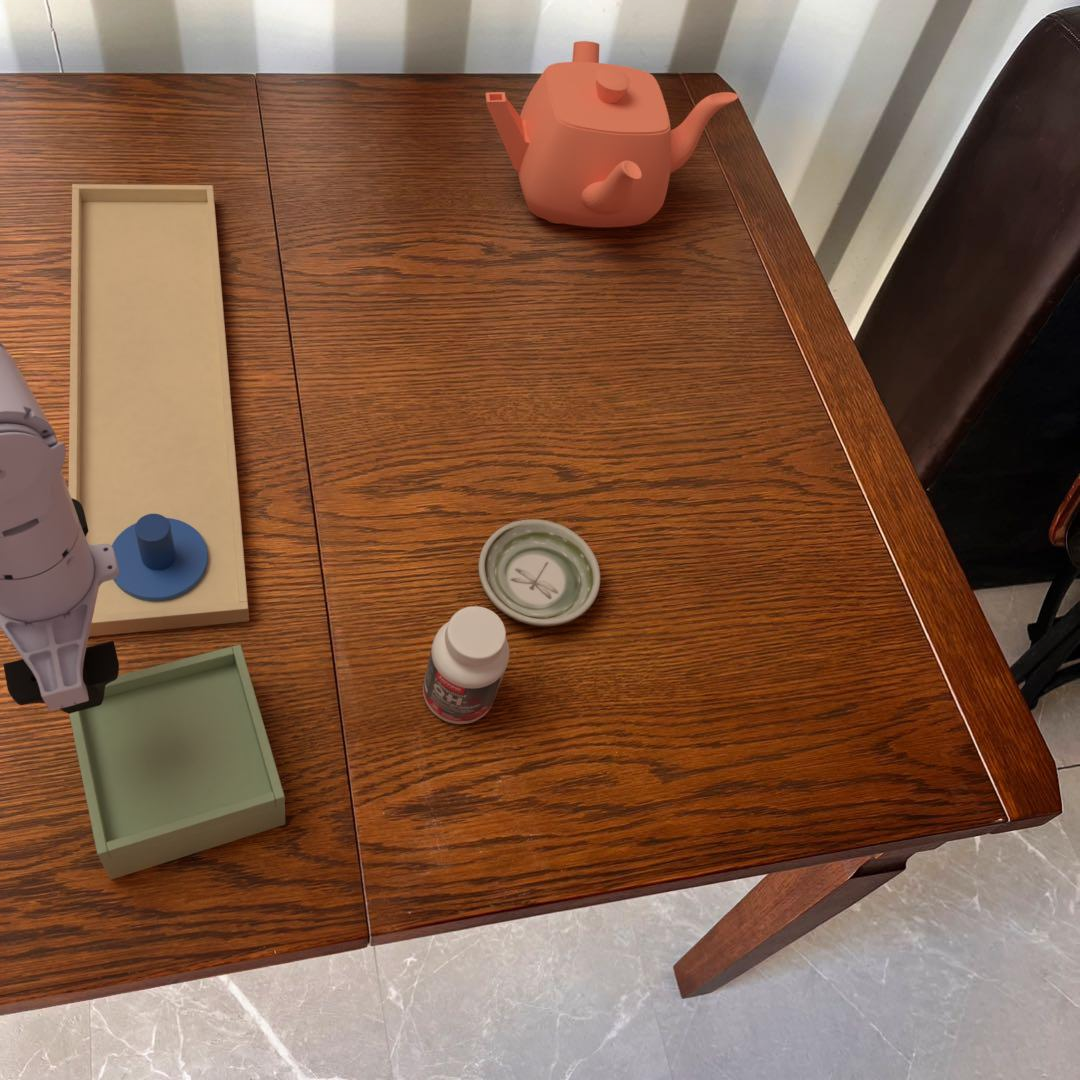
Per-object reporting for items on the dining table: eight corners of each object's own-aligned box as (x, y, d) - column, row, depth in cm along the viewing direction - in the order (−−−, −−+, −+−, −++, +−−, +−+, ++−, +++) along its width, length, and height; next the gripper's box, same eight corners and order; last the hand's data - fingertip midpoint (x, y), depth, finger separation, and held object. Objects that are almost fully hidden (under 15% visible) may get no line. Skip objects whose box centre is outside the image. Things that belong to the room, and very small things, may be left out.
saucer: (605, 554, 89) (612, 538, 87) (579, 654, 84) (586, 640, 82) (493, 519, 89) (497, 502, 87) (460, 616, 84) (464, 601, 82)
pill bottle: (421, 725, 78) (435, 665, 70) (422, 658, 81) (436, 593, 73) (495, 728, 79) (518, 669, 71) (494, 661, 82) (515, 598, 74)
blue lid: (119, 611, 78) (110, 579, 74) (100, 533, 81) (91, 498, 77) (218, 588, 81) (214, 556, 77) (196, 513, 84) (191, 478, 80)
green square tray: (110, 880, 69) (97, 854, 64) (78, 723, 74) (63, 688, 69) (285, 824, 73) (284, 796, 68) (243, 678, 78) (240, 643, 73)
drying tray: (249, 621, 80) (248, 608, 78) (71, 638, 77) (66, 625, 75) (214, 201, 103) (212, 184, 101) (75, 201, 99) (72, 183, 98)
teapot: (699, 201, 116) (743, 87, 105) (603, 284, 107) (640, 169, 95) (564, 115, 120) (593, -4, 109) (460, 188, 110) (479, 66, 99)
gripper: (129, 632, 53) (164, 735, 65) (76, 407, 60) (116, 536, 71) (-26, 672, 51) (38, 771, 62) (-65, 433, 57) (0, 563, 69)
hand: (72, 648), depth 67 cm, fingers open, 7 cm apart
